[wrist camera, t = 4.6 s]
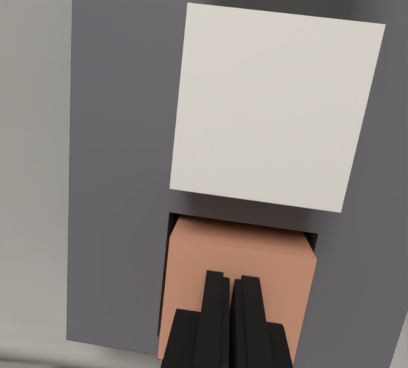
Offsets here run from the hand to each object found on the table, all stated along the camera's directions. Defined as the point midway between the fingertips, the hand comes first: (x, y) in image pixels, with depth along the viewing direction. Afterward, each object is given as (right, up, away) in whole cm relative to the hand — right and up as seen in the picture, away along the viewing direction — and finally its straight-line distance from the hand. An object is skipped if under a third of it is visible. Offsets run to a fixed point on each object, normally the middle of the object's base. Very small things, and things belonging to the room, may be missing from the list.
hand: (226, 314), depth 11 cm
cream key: (+1, +7, +1) cm, 7 cm away
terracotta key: (+1, +1, +3) cm, 4 cm away
